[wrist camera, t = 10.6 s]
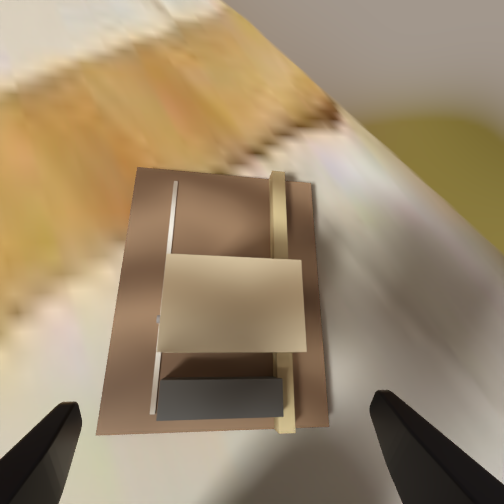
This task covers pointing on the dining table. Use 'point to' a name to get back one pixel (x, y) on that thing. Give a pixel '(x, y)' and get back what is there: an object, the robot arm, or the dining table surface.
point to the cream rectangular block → (231, 305)
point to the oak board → (211, 364)
